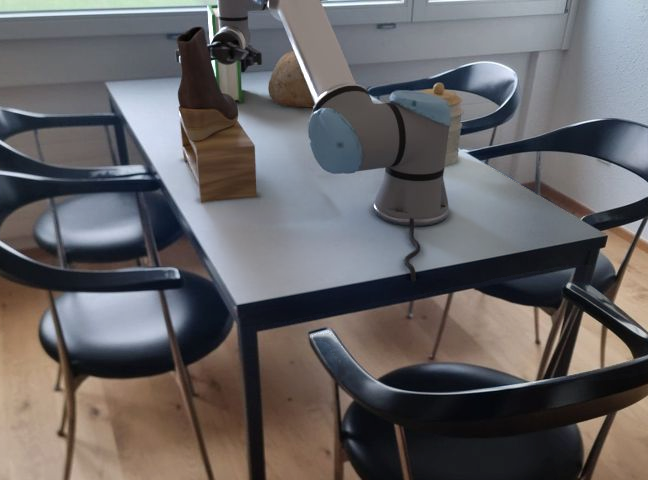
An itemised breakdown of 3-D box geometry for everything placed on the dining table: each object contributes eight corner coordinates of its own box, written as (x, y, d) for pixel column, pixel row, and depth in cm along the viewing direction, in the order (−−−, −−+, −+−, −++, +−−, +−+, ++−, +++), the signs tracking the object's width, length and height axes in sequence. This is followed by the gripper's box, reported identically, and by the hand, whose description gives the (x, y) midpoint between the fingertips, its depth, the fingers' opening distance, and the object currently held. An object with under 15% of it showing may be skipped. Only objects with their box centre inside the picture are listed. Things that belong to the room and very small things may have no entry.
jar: (421, 170, 164) (429, 91, 153) (395, 153, 173) (401, 78, 163) (467, 163, 168) (478, 87, 158) (439, 147, 178) (448, 74, 167)
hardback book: (242, 102, 209) (237, 14, 195) (217, 103, 208) (211, 14, 194) (236, 88, 223) (232, 4, 209) (213, 89, 222) (207, 5, 208)
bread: (357, 93, 221) (359, 41, 212) (352, 113, 202) (354, 58, 193) (275, 89, 222) (274, 38, 214) (263, 109, 204) (261, 54, 195)
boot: (247, 114, 160) (243, 18, 149) (214, 146, 141) (206, 38, 129) (211, 111, 162) (204, 16, 150) (174, 142, 142) (162, 36, 131)
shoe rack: (256, 196, 148) (254, 145, 142) (201, 202, 145) (196, 150, 139) (232, 155, 170) (229, 109, 164) (183, 159, 167) (178, 112, 161)
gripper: (278, 63, 174) (268, 84, 157) (180, 60, 175) (159, 80, 158) (277, 30, 170) (267, 48, 152) (176, 27, 170) (155, 44, 153)
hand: (212, 64), depth 155 cm, fingers open, 13 cm apart
